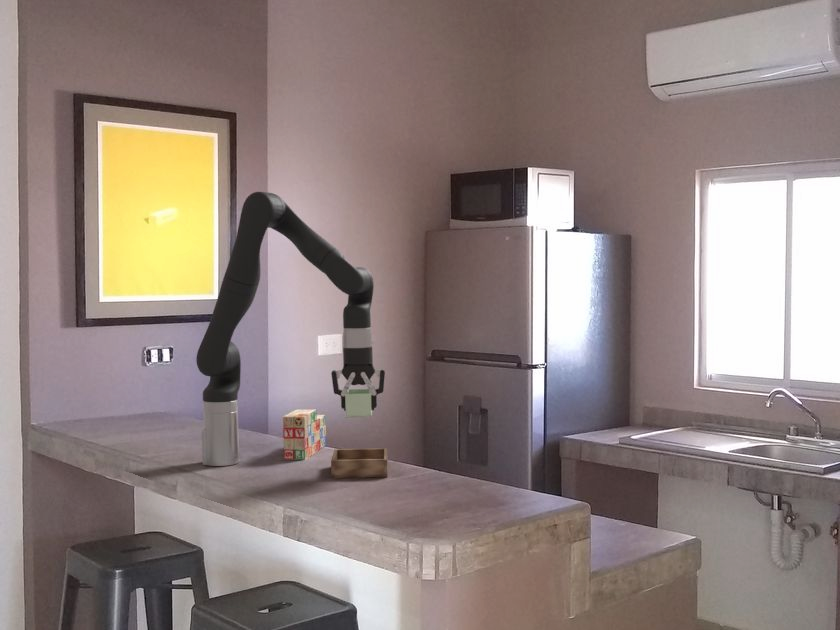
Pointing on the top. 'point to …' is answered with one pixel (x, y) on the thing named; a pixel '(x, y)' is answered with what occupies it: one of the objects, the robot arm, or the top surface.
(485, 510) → the top surface
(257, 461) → the top surface
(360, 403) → the small crate
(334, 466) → the big crate
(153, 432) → the top surface
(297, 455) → the stack of blocks
